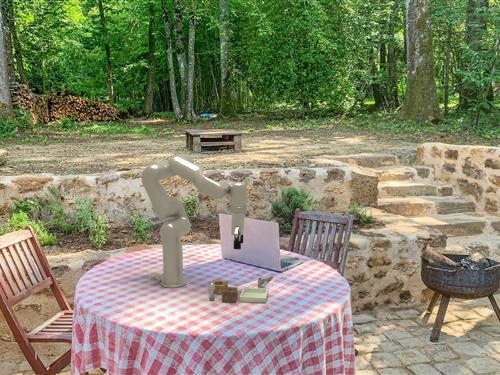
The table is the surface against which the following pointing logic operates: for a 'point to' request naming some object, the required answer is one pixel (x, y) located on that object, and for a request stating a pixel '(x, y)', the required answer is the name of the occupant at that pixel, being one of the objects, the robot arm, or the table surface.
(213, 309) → the table surface
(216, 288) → the brown hex nut
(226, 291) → the block
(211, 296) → the pin
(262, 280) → the caliper
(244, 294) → the tray
